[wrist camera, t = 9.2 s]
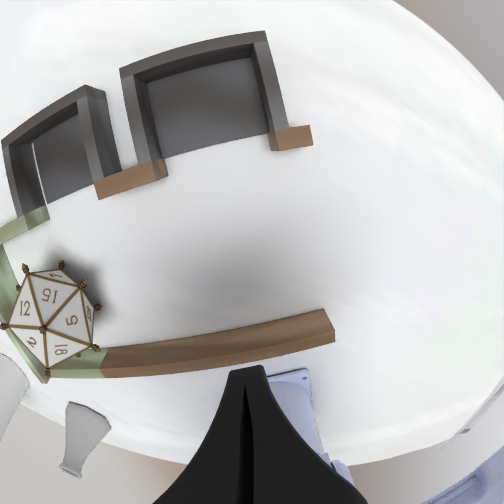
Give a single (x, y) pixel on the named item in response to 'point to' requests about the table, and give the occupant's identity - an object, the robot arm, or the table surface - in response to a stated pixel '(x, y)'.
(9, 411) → the spray bottle
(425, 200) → the table surface
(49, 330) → the game die
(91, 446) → the flask
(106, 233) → the table surface
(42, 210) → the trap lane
